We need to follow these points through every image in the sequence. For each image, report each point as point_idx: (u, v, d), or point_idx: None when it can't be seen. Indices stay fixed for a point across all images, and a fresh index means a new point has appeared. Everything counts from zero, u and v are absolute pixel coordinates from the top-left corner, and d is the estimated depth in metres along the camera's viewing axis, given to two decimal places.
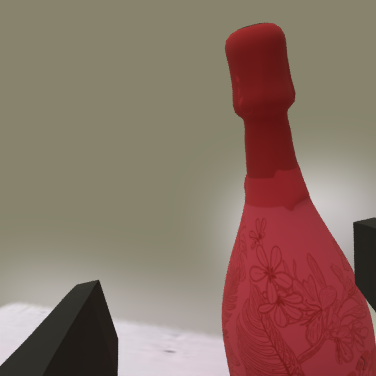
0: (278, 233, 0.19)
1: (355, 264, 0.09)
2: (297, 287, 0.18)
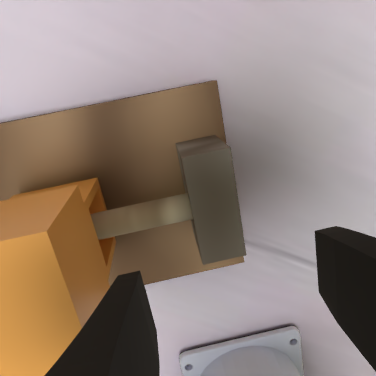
0: None
1: (318, 273, 0.09)
2: None
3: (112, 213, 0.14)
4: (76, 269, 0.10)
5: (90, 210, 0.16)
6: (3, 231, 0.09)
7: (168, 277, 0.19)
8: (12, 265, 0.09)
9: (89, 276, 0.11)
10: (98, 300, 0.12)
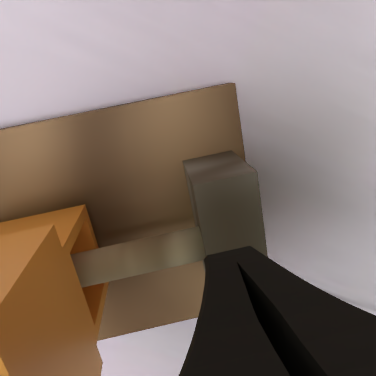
0: None
1: None
2: None
3: (102, 254, 0.11)
4: (43, 359, 0.07)
5: (76, 245, 0.13)
6: None
7: (173, 320, 0.15)
8: None
9: (65, 357, 0.08)
10: None
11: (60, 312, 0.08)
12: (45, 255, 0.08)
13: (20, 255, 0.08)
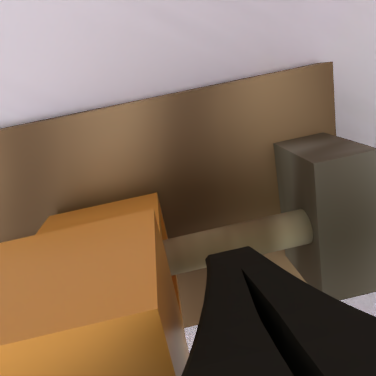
0: None
1: None
2: None
3: (207, 237, 0.11)
4: (176, 348, 0.06)
5: None
6: (74, 301, 0.05)
7: None
8: (94, 364, 0.05)
9: (181, 347, 0.08)
10: None
11: (171, 300, 0.08)
12: (157, 240, 0.08)
13: (139, 239, 0.07)
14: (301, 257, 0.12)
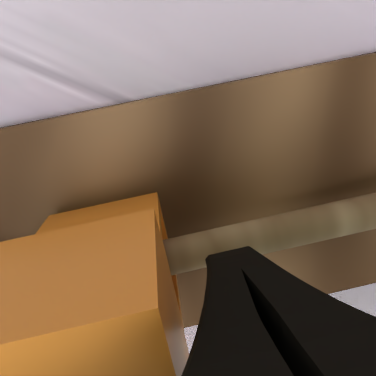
0: None
1: None
2: None
3: None
4: (176, 348, 0.06)
5: None
6: (75, 300, 0.05)
7: None
8: (94, 363, 0.05)
9: (181, 347, 0.08)
10: None
11: (171, 299, 0.08)
12: (158, 239, 0.08)
13: (139, 238, 0.07)
14: None
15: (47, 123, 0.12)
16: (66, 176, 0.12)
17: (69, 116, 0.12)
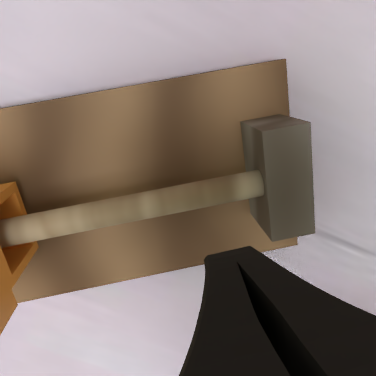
0: None
1: None
2: None
3: (184, 187, 0.14)
4: None
5: (7, 215, 0.15)
6: None
7: None
8: None
9: None
10: None
11: None
12: None
13: None
14: (259, 210, 0.16)
15: None
16: None
17: None
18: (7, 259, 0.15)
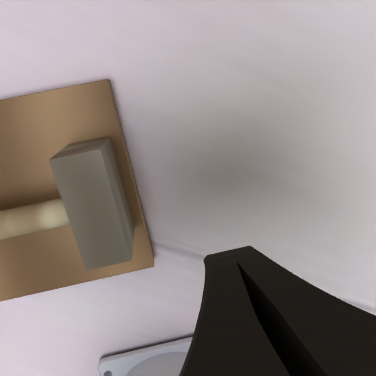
0: None
1: None
2: None
3: None
4: None
5: None
6: None
7: (75, 282, 0.18)
8: None
9: None
10: None
11: None
12: None
13: None
14: None
15: None
16: None
17: None
18: None
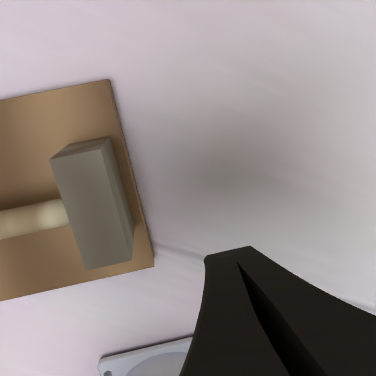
0: None
1: None
2: None
3: None
4: None
5: None
6: None
7: (75, 282, 0.18)
8: None
9: None
10: None
11: None
12: None
13: None
14: None
15: None
16: None
17: None
18: None
